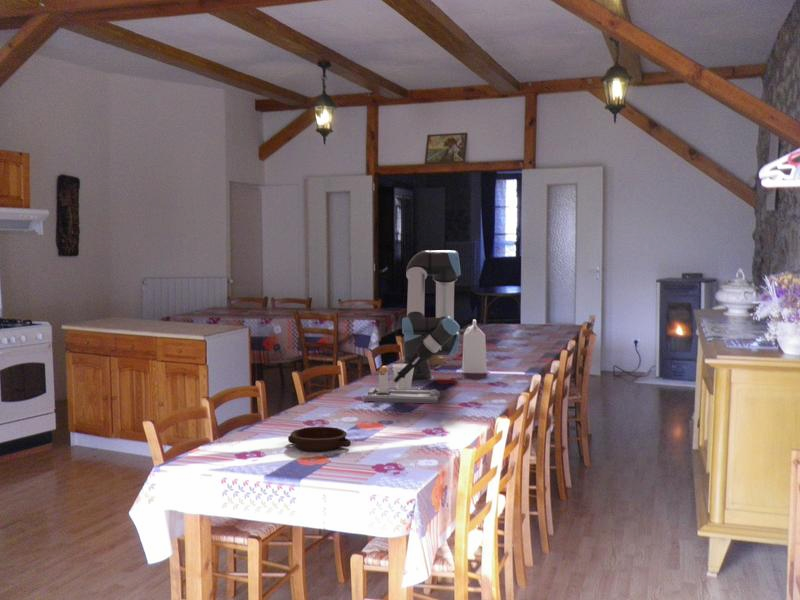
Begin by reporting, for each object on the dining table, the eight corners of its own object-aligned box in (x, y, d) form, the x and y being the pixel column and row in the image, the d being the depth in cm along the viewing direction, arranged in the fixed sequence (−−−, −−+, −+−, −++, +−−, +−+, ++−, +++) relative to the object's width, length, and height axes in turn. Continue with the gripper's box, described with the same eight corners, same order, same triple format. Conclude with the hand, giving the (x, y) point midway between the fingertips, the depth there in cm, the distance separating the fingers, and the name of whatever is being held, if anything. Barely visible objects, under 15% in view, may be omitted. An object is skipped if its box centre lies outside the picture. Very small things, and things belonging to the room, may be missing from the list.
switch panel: (364, 401, 327) (364, 393, 327) (370, 394, 341) (370, 386, 341) (436, 403, 323) (436, 395, 323) (439, 396, 337) (439, 388, 337)
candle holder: (431, 361, 432) (431, 317, 430) (446, 363, 424) (447, 319, 422) (418, 363, 424) (418, 319, 422) (433, 366, 416) (433, 321, 414)
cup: (412, 392, 346) (412, 367, 345) (390, 391, 348) (390, 367, 347) (416, 388, 355) (416, 364, 354) (395, 387, 357) (395, 363, 356)
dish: (340, 457, 246) (340, 441, 245) (276, 451, 252) (275, 436, 252) (359, 443, 263) (359, 428, 262) (298, 438, 269) (298, 423, 269)
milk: (486, 373, 395) (487, 321, 393) (463, 373, 395) (464, 321, 393) (484, 369, 407) (485, 318, 405) (462, 368, 407) (462, 318, 405)
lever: (376, 395, 330) (376, 368, 329) (379, 392, 337) (379, 364, 337) (387, 396, 329) (387, 368, 328) (390, 392, 337) (390, 365, 336)
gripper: (434, 356, 322) (393, 395, 326) (436, 351, 335) (397, 389, 338) (421, 343, 322) (381, 382, 326) (424, 338, 335) (385, 377, 339)
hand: (389, 386), depth 332 cm, fingers closed
